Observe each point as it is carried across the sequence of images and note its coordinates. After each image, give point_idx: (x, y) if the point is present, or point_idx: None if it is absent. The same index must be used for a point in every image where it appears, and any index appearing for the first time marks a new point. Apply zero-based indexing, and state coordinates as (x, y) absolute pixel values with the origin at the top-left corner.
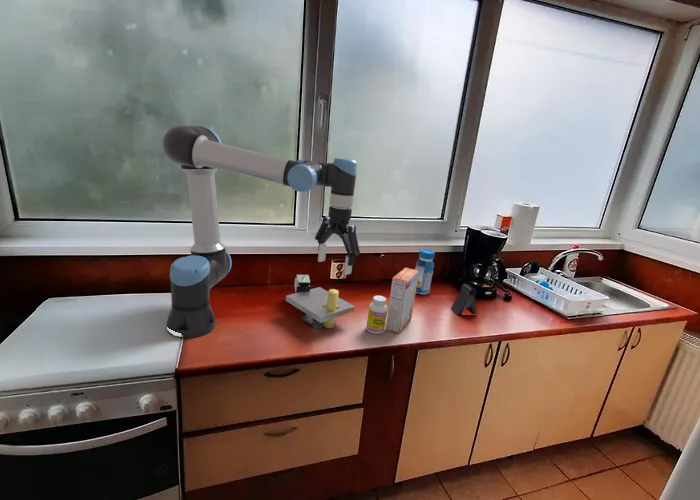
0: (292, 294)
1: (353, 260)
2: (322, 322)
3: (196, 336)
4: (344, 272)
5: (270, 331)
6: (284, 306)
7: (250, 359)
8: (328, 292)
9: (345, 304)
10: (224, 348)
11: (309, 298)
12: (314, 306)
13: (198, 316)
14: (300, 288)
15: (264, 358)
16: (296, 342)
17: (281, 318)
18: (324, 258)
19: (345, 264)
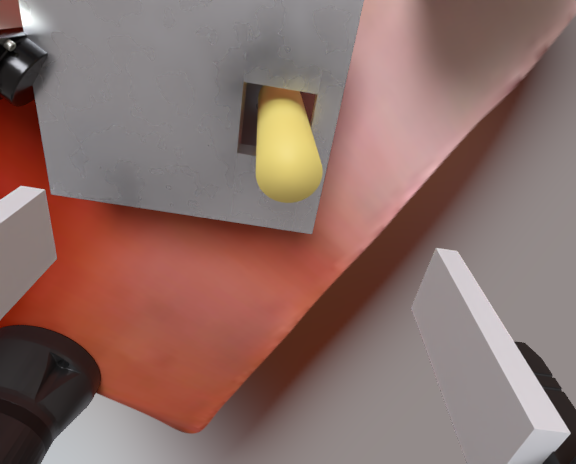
0: (49, 162)
1: (563, 408)
2: (246, 103)
3: (99, 382)
4: (420, 320)
5: (174, 262)
6: None
7: (256, 361)
8: (268, 193)
9: (309, 26)
10: (180, 369)
11: (132, 131)
12: (218, 179)
13: (64, 418)
14: (15, 103)
15: (275, 343)
16: (275, 252)
17: None
18: (30, 214)
19: (446, 388)
